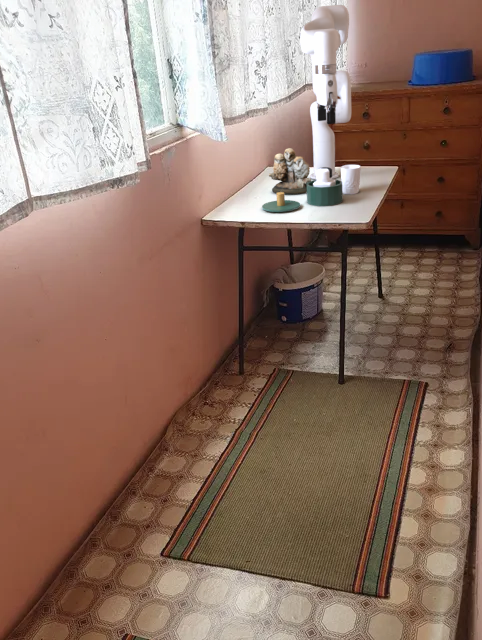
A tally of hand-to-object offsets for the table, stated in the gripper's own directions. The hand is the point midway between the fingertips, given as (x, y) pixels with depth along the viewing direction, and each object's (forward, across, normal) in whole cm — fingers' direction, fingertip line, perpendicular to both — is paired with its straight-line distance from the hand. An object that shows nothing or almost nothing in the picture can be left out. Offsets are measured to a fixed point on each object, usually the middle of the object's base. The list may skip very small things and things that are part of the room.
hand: (326, 122), depth 223 cm
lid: (+28, -3, +20) cm, 34 cm away
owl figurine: (+28, +20, +9) cm, 36 cm away
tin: (+28, -2, +2) cm, 28 cm away
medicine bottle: (+28, -2, +2) cm, 28 cm away
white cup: (+28, +6, -12) cm, 32 cm away
